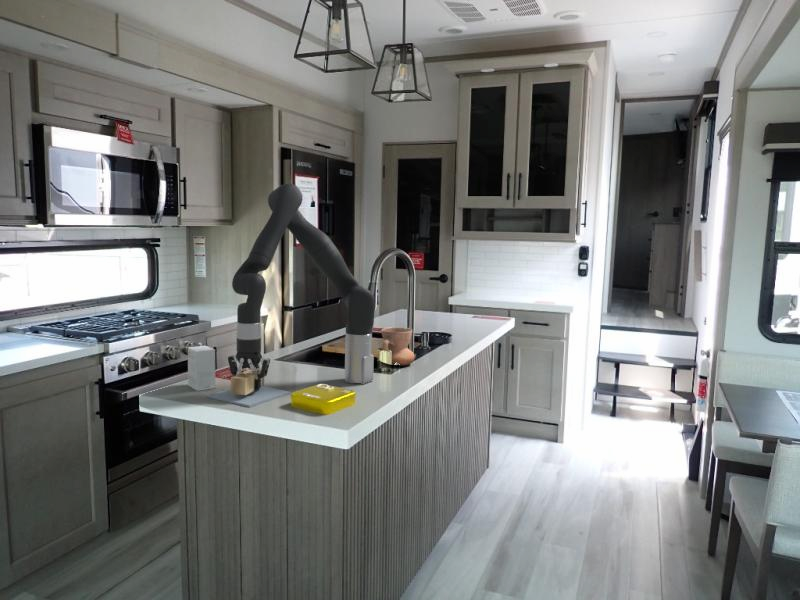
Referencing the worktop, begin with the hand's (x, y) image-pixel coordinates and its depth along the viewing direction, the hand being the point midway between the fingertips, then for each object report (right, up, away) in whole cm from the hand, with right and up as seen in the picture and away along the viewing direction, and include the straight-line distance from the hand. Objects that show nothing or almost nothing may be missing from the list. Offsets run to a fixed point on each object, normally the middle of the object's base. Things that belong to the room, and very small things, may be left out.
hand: (248, 388), depth 187 cm
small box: (-18, -1, +8) cm, 19 cm away
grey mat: (0, -2, 0) cm, 2 cm away
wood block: (-2, +2, -7) cm, 7 cm away
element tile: (+24, -4, -7) cm, 26 cm away
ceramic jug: (+46, +2, +49) cm, 67 cm away
